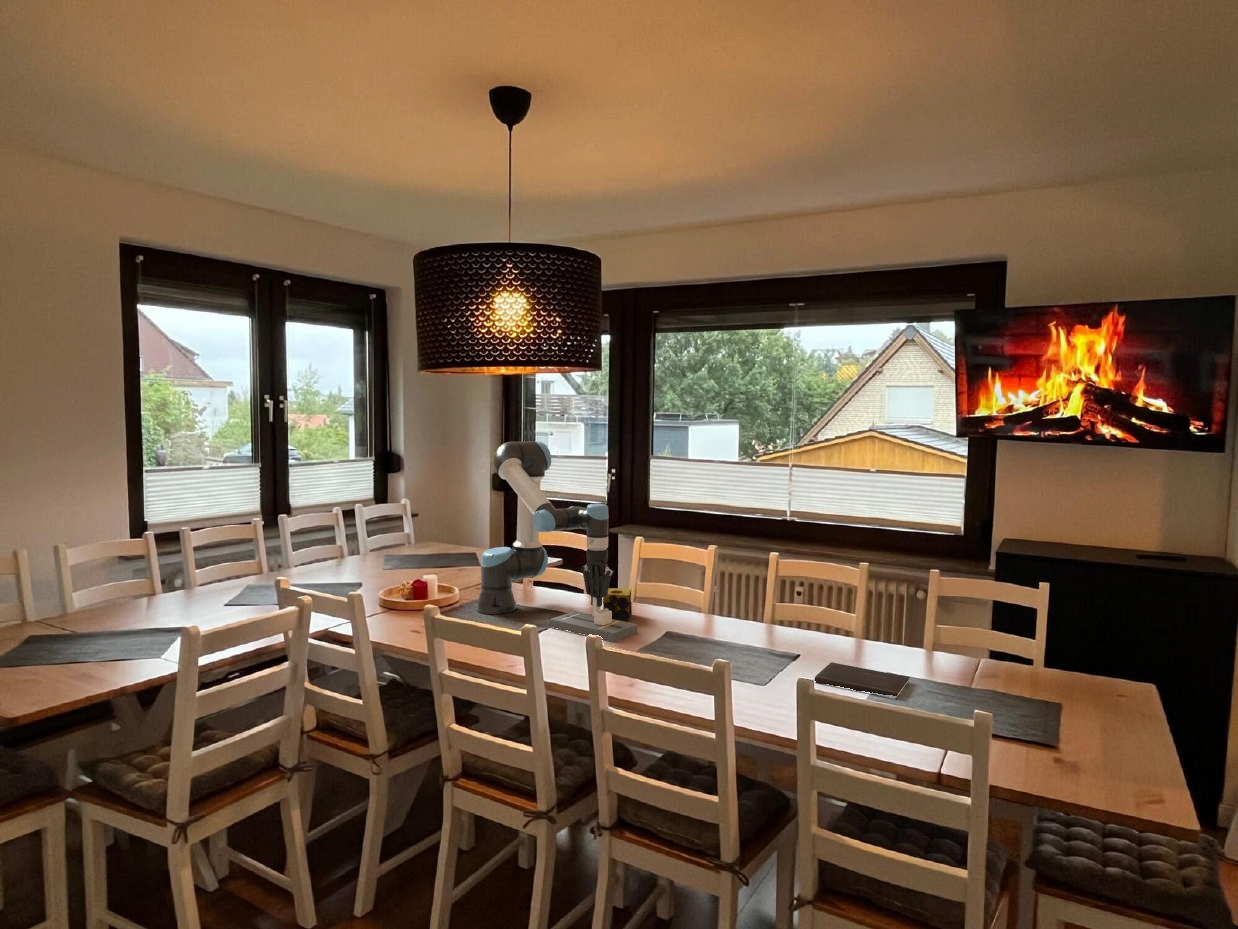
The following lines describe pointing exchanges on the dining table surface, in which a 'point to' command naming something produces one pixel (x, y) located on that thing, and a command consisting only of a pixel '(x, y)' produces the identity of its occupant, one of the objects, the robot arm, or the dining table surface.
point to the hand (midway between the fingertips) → (596, 615)
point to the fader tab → (603, 617)
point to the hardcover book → (861, 679)
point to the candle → (618, 603)
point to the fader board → (593, 626)
